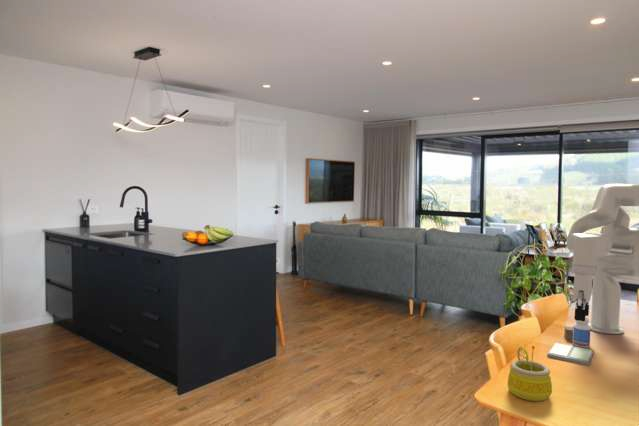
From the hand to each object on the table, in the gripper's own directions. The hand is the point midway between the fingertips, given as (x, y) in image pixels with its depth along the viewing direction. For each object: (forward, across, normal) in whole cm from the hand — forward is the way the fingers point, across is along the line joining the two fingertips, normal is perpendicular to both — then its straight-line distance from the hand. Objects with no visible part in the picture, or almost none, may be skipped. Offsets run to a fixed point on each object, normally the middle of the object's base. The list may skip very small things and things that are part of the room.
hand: (581, 317), depth 163 cm
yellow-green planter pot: (+12, +52, -6) cm, 54 cm away
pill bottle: (+10, -1, 0) cm, 10 cm away
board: (+11, +12, -1) cm, 16 cm away
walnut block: (+10, -7, -4) cm, 13 cm away
